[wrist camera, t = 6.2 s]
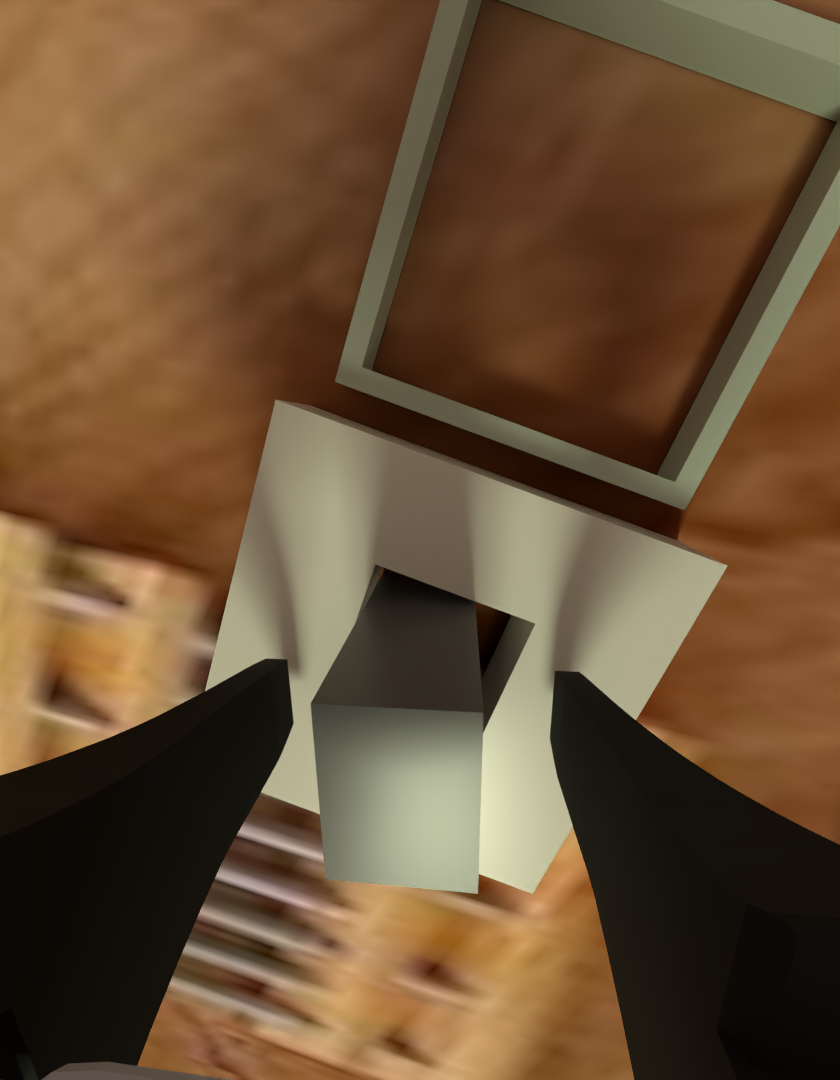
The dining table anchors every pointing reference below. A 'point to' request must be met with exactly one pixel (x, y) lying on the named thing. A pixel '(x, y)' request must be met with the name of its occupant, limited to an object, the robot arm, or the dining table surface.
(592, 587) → the socket
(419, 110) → the pale green square frame
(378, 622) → the plug
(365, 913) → the dining table surface
